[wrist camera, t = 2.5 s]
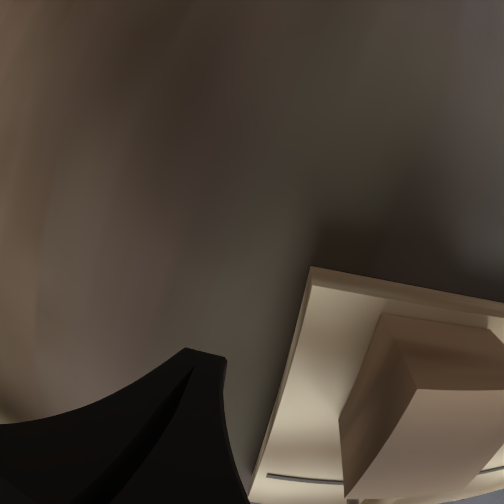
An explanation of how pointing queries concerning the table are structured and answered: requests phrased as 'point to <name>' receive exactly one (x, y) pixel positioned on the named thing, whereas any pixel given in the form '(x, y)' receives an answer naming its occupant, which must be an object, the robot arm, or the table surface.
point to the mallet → (422, 410)
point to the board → (348, 384)
